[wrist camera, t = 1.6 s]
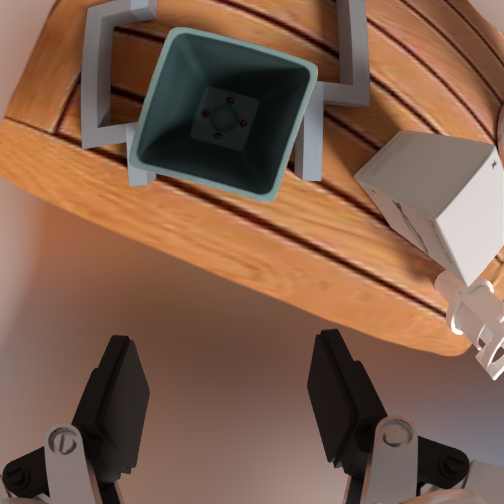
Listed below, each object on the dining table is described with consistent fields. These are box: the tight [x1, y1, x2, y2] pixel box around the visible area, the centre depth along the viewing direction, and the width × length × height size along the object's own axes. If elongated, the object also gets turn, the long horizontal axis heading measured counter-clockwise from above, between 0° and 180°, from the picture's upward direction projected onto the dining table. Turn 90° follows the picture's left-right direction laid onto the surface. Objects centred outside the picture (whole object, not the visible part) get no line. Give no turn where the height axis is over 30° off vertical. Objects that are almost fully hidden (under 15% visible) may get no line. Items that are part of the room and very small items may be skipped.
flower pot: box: [129, 27, 318, 203], centre depth 18 cm, size 9×9×9 cm
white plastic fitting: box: [434, 270, 504, 380], centre depth 24 cm, size 7×7×15 cm
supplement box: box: [353, 130, 504, 287], centre depth 20 cm, size 7×7×13 cm
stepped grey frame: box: [81, 0, 370, 186], centre depth 18 cm, size 23×28×3 cm
